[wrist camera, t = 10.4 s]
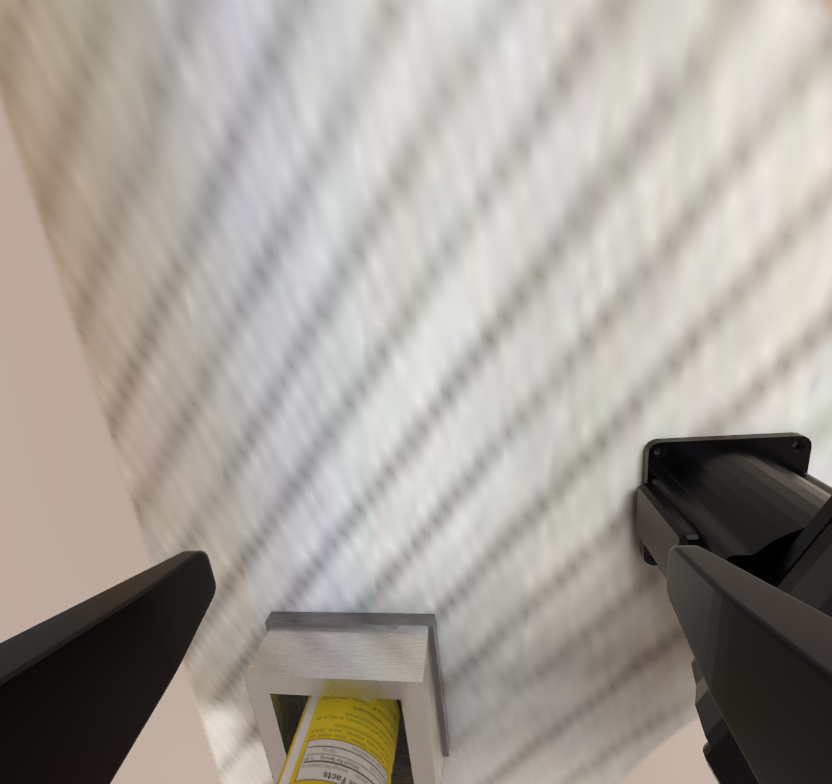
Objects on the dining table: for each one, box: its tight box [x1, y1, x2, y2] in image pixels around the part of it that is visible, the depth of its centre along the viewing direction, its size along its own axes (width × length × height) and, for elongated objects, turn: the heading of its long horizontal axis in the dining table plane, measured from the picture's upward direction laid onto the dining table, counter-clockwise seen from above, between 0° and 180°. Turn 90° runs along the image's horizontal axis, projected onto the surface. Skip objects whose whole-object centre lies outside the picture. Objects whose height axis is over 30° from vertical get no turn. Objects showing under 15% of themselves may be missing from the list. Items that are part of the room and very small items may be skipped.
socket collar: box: [244, 612, 449, 784], centre depth 23 cm, size 10×10×4 cm
